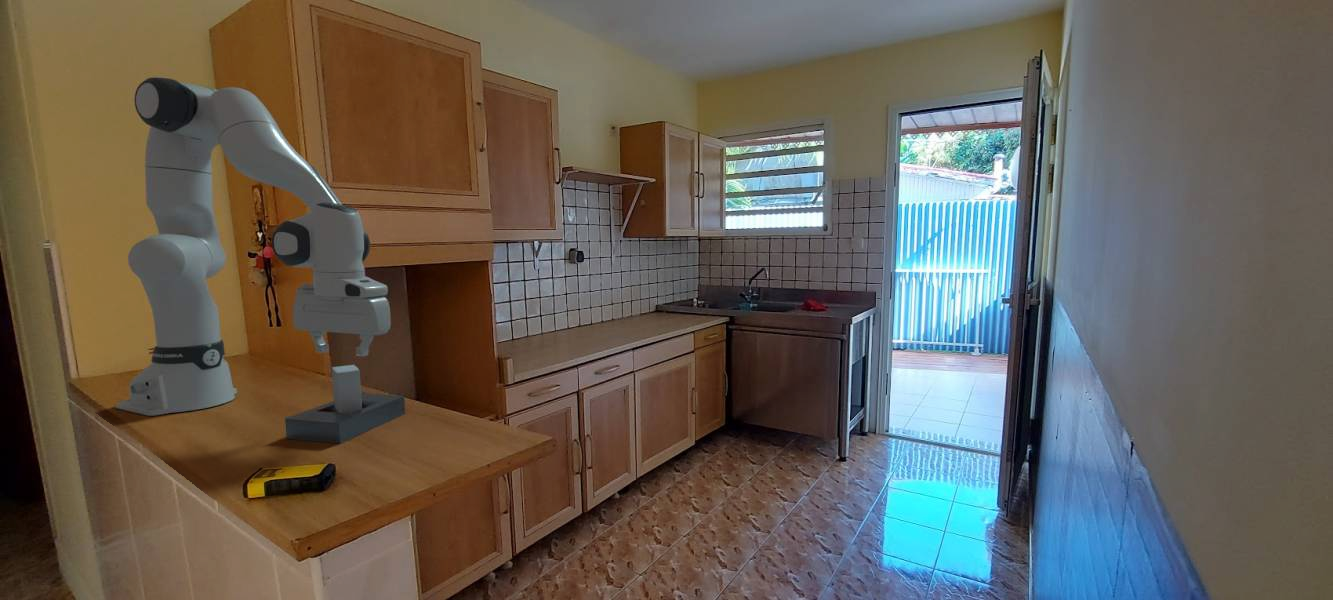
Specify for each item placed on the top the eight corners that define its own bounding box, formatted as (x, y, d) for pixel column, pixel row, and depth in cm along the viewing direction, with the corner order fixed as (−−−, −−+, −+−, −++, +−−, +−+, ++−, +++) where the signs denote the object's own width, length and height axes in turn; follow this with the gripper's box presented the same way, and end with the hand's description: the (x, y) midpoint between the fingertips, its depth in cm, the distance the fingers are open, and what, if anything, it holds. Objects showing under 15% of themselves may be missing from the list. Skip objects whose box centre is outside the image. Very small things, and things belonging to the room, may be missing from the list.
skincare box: (334, 423, 112) (331, 367, 111) (358, 419, 115) (354, 364, 113) (339, 431, 107) (335, 372, 106) (363, 427, 110) (360, 369, 109)
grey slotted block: (286, 438, 103) (284, 418, 103) (357, 409, 121) (356, 392, 120) (340, 443, 101) (338, 423, 100) (405, 413, 118) (404, 395, 118)
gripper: (282, 284, 107) (285, 353, 108) (371, 289, 102) (373, 360, 104) (309, 282, 113) (312, 347, 114) (395, 286, 109) (396, 354, 110)
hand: (342, 354), depth 109 cm, fingers open, 8 cm apart
